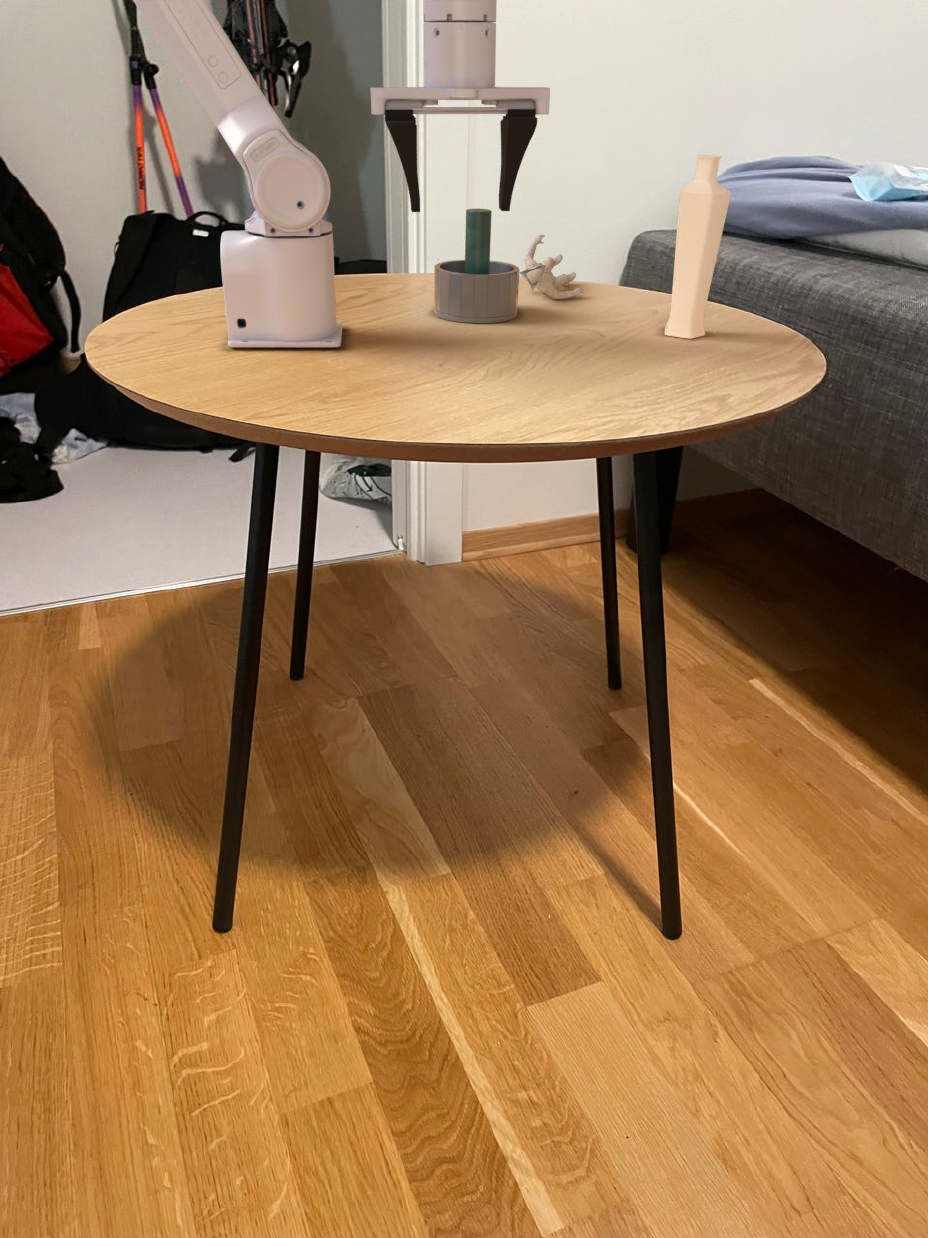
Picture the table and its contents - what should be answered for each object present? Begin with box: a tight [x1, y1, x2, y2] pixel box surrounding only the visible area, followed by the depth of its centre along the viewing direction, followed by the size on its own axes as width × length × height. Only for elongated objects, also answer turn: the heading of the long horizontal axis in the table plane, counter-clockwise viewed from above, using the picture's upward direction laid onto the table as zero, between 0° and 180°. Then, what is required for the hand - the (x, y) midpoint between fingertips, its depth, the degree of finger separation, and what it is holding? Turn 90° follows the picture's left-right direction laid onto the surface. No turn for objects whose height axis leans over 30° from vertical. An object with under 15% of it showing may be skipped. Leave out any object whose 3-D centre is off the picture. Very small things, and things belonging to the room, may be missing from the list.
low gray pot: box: [433, 259, 520, 324], centre depth 92 cm, size 8×8×4 cm
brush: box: [464, 208, 493, 274], centre depth 90 cm, size 3×3×9 cm
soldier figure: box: [519, 234, 585, 300], centre depth 101 cm, size 8×5×12 cm
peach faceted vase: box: [664, 154, 732, 339], centre depth 84 cm, size 5×4×15 cm
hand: (460, 210), depth 80 cm, fingers open, 7 cm apart
